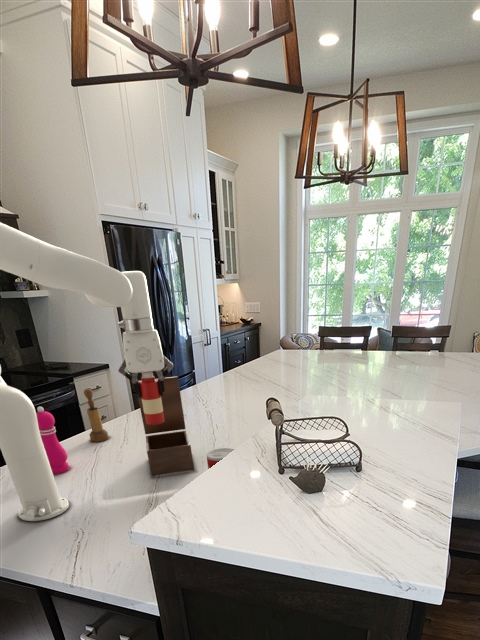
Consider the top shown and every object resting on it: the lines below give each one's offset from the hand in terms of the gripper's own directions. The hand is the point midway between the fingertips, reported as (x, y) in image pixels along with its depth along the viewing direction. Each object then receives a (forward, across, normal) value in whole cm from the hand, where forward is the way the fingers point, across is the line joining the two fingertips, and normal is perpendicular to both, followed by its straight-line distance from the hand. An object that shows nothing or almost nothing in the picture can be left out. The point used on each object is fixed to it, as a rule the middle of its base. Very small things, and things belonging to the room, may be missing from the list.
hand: (150, 395), depth 135 cm
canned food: (+22, +16, -25) cm, 37 cm away
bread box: (+22, +3, 0) cm, 22 cm away
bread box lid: (+5, +2, +7) cm, 9 cm away
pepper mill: (+22, -32, +11) cm, 41 cm away
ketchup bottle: (+8, 0, 0) cm, 8 cm away
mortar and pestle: (+22, -22, +39) cm, 50 cm away
